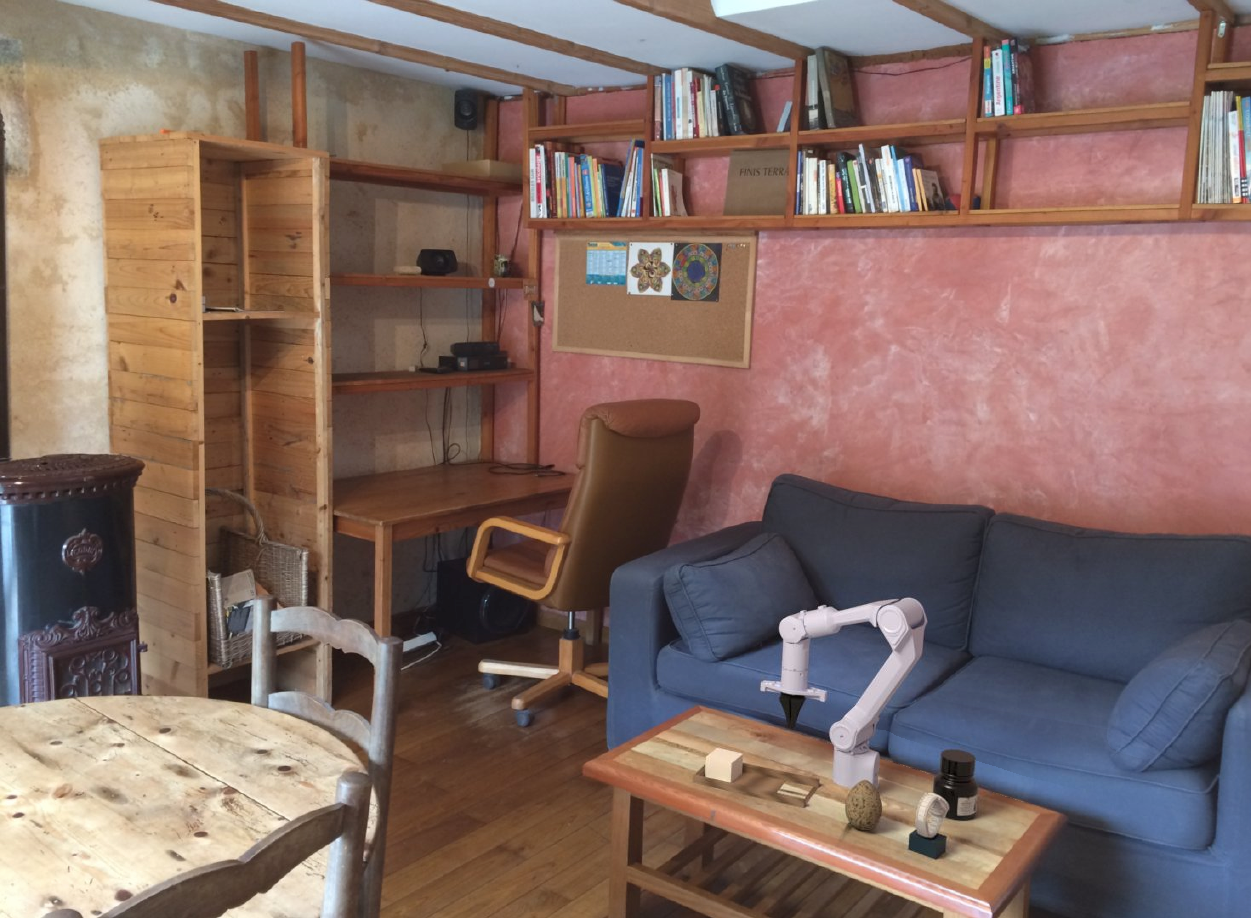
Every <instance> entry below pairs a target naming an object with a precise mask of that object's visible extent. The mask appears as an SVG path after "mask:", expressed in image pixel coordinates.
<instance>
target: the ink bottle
mask: <svg viewBox="0 0 1251 918" xmlns="http://www.w3.org/2000/svg"><path fill="white" fill-rule="evenodd" d="M975 769H976V756H975V755H974V754H972V753H971V752H968V751H965V750H962V749H954V748H952V749H949V748H948V749H944V750H942V751H941V753H940V760H939V773H937V774H936V775H934V778H933V784H932V793H934V794H937V795H939V796H941V797H942V798H943V799H945V800H946V802H947V803H948V805H949V810H948V811H947V814H946V817H945V818H947V819H951V820H958V821H968V820H970V819H974V817H976V816H977V813H978V812H977V811H978V802H979V801H978V799H979V783H978V780H976V778H975V777H974V776H975Z"/></svg>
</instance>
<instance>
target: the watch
mask: <svg viewBox="0 0 1251 918" xmlns="http://www.w3.org/2000/svg"><path fill="white" fill-rule="evenodd" d="M948 810H949V805H948V803H947V802H946V800H945V799H943V798H942V797H941V796H939V795H937V794H934V793H933V792H928V793H927V792H925V793H924V794H923V795H922V796H921V798H920V800H919V801H918V805H917V807H916V812H915V819H914V826H915V829H914V830H913V831H912V832H909V834H908V836H909V837H908V849H907V850H909V851H911V852H914V853H917V854H918V855H921V856H925V857H927V858H930V859H931V860H937V859H938V858H939V857H941V856H942V855H943V854H945V853H946V850H947V835H944V834H942V833H939V831H940V829H941V827H942V824H943V822H944V820H945V819H946V818H947V817H946V814H947V811H948ZM928 814H929V815H930V818H929V822H927V818H928Z"/></svg>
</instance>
